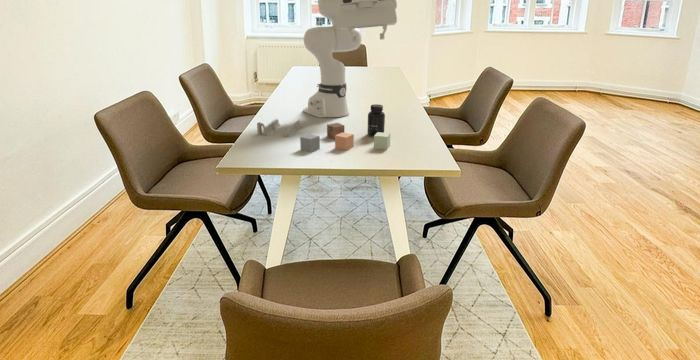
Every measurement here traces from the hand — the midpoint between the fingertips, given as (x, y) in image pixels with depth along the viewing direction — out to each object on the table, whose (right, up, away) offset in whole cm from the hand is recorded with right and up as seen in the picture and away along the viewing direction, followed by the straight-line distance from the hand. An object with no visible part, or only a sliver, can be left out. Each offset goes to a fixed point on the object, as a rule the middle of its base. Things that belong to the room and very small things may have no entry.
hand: (368, 40), depth 180 cm
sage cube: (+6, -35, +19) cm, 40 cm away
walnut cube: (-12, -30, +31) cm, 45 cm away
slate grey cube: (-21, -36, +16) cm, 45 cm away
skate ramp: (-35, -28, +40) cm, 60 cm away
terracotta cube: (-8, -35, +18) cm, 41 cm away
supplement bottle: (+4, -29, +34) cm, 45 cm away
